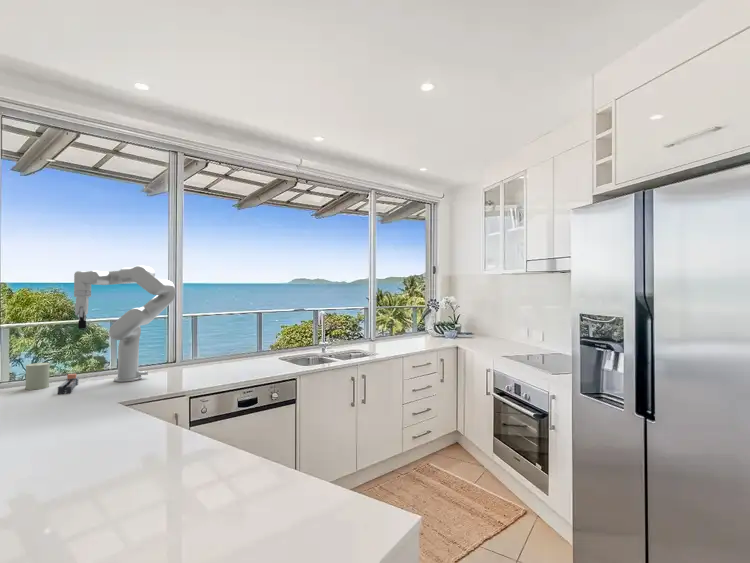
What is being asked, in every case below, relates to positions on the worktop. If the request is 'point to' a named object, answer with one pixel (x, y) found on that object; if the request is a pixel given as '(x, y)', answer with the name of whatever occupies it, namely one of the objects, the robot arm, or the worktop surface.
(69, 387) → the tongs fixed
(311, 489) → the worktop surface
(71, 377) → the tab
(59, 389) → the bar
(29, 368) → the can
